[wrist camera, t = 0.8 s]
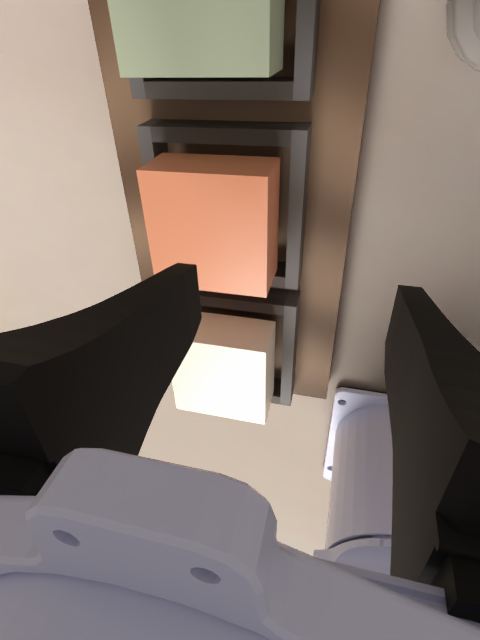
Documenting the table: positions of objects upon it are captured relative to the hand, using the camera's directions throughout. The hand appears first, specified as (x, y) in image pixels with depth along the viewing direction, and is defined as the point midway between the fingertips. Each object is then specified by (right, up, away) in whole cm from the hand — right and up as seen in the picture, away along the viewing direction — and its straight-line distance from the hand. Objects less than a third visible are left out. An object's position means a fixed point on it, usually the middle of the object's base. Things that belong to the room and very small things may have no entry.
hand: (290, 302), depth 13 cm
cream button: (-2, -2, +11) cm, 11 cm away
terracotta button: (-2, +4, +6) cm, 8 cm away
